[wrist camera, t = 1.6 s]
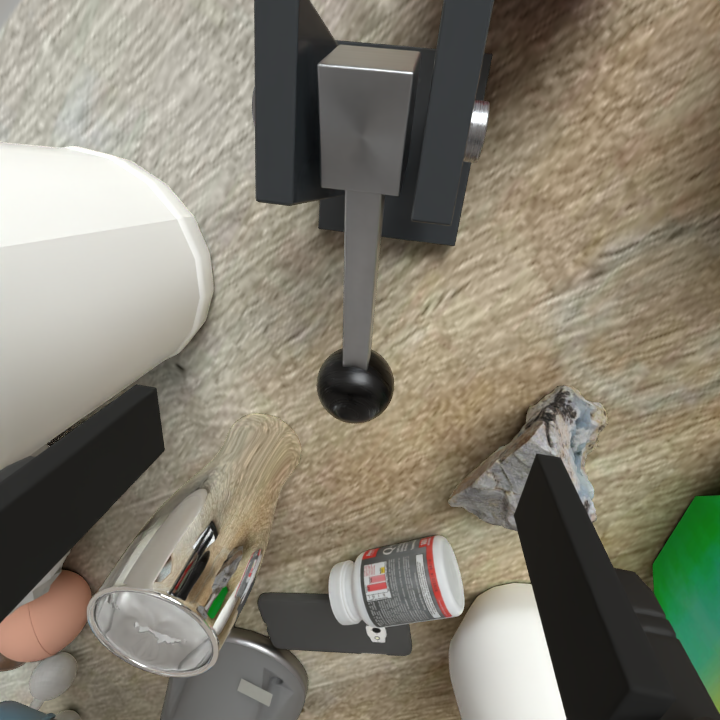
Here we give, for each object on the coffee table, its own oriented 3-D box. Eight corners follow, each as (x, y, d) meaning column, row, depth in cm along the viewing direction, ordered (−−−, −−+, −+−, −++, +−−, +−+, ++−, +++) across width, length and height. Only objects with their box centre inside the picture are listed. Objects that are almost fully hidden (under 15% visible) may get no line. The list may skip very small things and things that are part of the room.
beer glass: (255, 390, 30) (120, 561, 17) (325, 447, 32) (250, 648, 18) (208, 442, 33) (59, 624, 20) (274, 492, 34) (176, 696, 21)
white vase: (608, 662, 37) (704, 914, 24) (460, 666, 40) (477, 889, 27) (597, 558, 32) (709, 804, 19) (430, 572, 35) (434, 789, 23)
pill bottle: (436, 524, 31) (324, 549, 34) (451, 609, 27) (324, 629, 30) (456, 544, 35) (354, 564, 38) (471, 620, 31) (357, 637, 34)
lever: (394, 385, 21) (385, 444, 19) (327, 375, 21) (309, 431, 19) (449, 49, 11) (446, 81, 8) (317, 37, 11) (278, 66, 9)
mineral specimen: (540, 421, 33) (463, 360, 29) (651, 428, 27) (571, 350, 22) (508, 537, 30) (416, 488, 26) (624, 579, 24) (525, 522, 19)
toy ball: (95, 547, 45) (46, 579, 46) (20, 569, 38) (-36, 607, 39) (117, 620, 42) (64, 651, 44) (41, 658, 35) (-20, 695, 36)
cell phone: (272, 650, 42) (276, 641, 43) (413, 658, 39) (413, 648, 40) (254, 601, 39) (257, 591, 40) (404, 606, 36) (404, 595, 37)
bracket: (453, 243, 24) (490, 323, 11) (322, 226, 25) (203, 282, 11) (489, 60, 20) (618, -173, 7) (333, 46, 21) (174, -189, 8)
